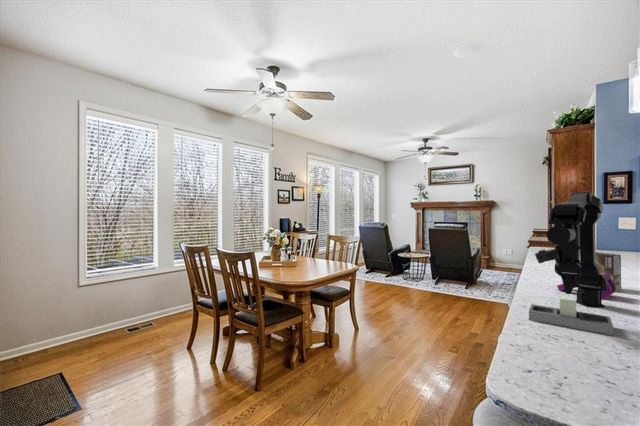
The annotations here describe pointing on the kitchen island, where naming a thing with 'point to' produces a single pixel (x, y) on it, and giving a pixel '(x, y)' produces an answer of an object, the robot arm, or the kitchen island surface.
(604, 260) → the coffee box
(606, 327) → the slotted holder
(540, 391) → the kitchen island surface
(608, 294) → the mounting bracket
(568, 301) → the peg
